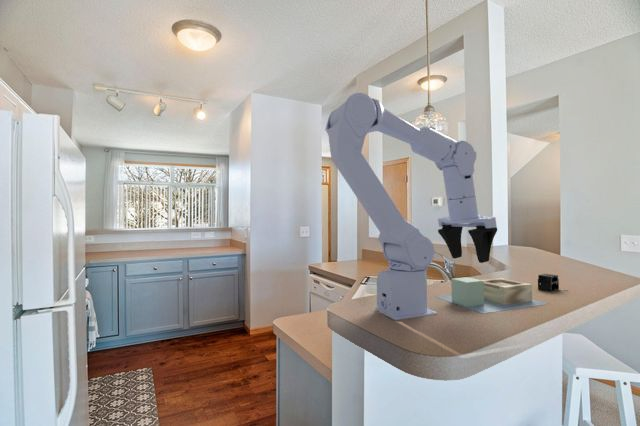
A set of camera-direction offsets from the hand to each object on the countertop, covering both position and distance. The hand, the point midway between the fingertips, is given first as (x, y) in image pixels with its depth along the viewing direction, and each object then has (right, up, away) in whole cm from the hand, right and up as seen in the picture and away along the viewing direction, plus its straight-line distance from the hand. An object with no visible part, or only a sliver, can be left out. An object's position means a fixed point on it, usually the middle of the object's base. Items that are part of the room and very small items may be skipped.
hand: (469, 259), depth 70 cm
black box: (+25, -10, +11) cm, 29 cm away
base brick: (+9, -9, +3) cm, 13 cm away
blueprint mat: (+5, -10, +2) cm, 11 cm away
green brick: (-1, -9, 0) cm, 9 cm away
